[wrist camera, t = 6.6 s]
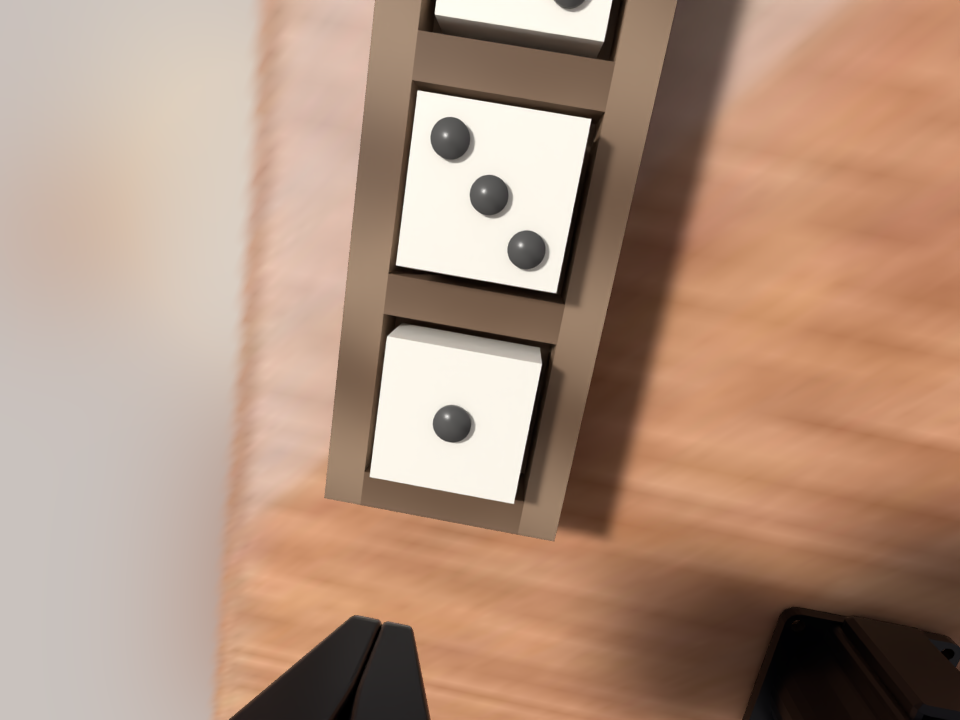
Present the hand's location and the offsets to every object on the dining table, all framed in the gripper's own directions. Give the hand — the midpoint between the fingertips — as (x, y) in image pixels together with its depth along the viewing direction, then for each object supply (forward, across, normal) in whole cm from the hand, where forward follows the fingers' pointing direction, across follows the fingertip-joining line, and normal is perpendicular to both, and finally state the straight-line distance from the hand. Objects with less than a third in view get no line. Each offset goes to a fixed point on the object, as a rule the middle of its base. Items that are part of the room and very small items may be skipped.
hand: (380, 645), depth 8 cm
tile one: (+11, 0, 0) cm, 11 cm away
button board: (+13, 0, -6) cm, 14 cm away
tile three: (+11, 0, -6) cm, 12 cm away
